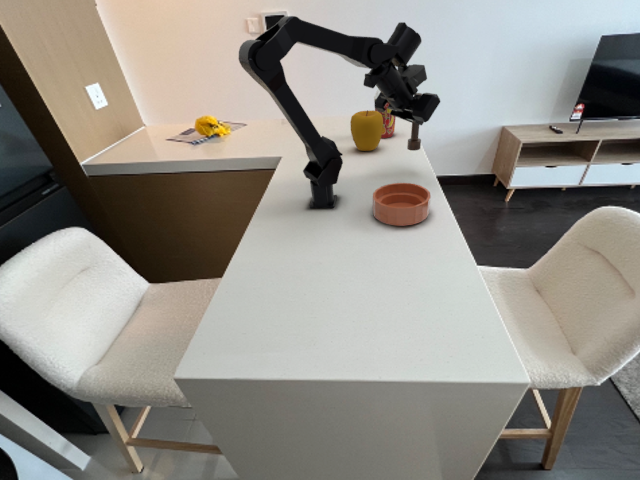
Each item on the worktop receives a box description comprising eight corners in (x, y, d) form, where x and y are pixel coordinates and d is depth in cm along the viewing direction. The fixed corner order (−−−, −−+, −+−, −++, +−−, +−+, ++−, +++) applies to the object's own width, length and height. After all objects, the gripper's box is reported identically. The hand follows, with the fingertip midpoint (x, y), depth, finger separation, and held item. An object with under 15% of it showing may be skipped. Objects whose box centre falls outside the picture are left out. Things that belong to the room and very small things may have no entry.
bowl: (430, 228, 76) (432, 207, 73) (371, 227, 78) (371, 208, 75) (426, 200, 86) (428, 182, 83) (374, 201, 88) (374, 183, 85)
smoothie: (370, 135, 131) (369, 76, 118) (388, 131, 133) (390, 72, 121) (381, 140, 125) (381, 79, 112) (400, 136, 127) (403, 75, 115)
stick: (419, 150, 94) (424, 94, 86) (406, 150, 95) (410, 95, 87) (420, 146, 97) (425, 92, 89) (407, 146, 98) (411, 92, 89)
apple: (359, 157, 113) (358, 116, 105) (346, 148, 121) (344, 109, 113) (388, 151, 116) (389, 110, 108) (374, 142, 124) (373, 104, 116)
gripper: (440, 54, 74) (464, 101, 85) (383, 51, 86) (411, 92, 98) (411, 100, 76) (439, 140, 87) (359, 90, 88) (390, 126, 99)
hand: (419, 123), depth 93 cm, fingers closed on stick, 2 cm apart
